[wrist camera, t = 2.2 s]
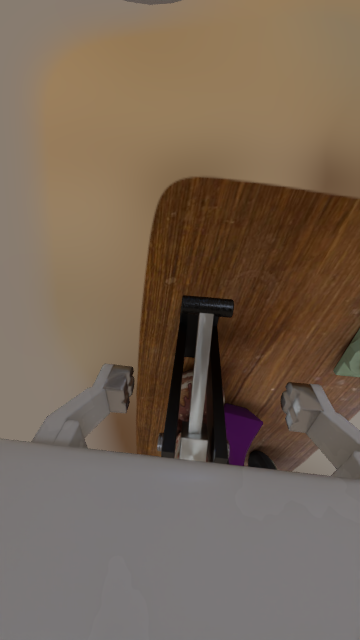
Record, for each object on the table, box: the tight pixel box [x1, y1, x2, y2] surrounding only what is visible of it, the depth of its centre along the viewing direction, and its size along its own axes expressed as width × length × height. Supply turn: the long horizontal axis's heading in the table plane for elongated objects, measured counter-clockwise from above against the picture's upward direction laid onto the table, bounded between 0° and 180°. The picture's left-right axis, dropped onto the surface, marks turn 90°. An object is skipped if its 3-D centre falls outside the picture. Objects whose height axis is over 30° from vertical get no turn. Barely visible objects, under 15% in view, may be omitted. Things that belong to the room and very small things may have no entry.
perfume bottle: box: [224, 403, 263, 466], centre depth 35 cm, size 8×8×18 cm
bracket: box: [157, 312, 230, 464], centre depth 26 cm, size 8×6×18 cm
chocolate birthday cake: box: [175, 369, 225, 462], centre depth 32 cm, size 9×8×15 cm
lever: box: [179, 295, 234, 462], centre depth 19 cm, size 14×4×2 cm, turn 177°
